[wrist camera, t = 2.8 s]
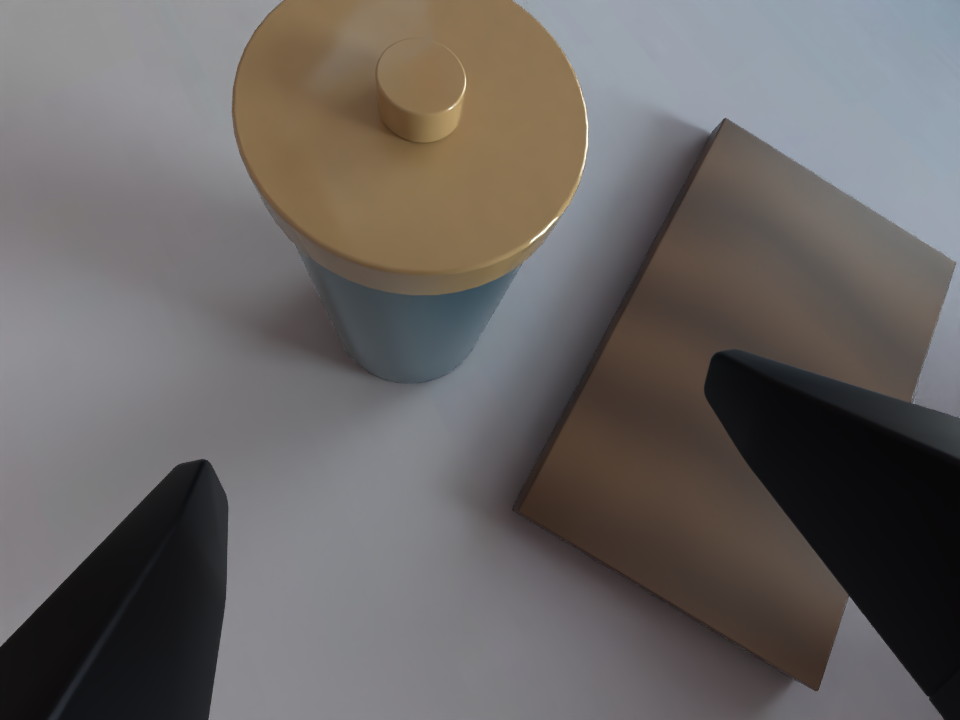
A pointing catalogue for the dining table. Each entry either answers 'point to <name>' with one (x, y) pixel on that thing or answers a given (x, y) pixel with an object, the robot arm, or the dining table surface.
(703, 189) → the board
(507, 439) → the dining table surface
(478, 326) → the canister
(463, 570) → the dining table surface
